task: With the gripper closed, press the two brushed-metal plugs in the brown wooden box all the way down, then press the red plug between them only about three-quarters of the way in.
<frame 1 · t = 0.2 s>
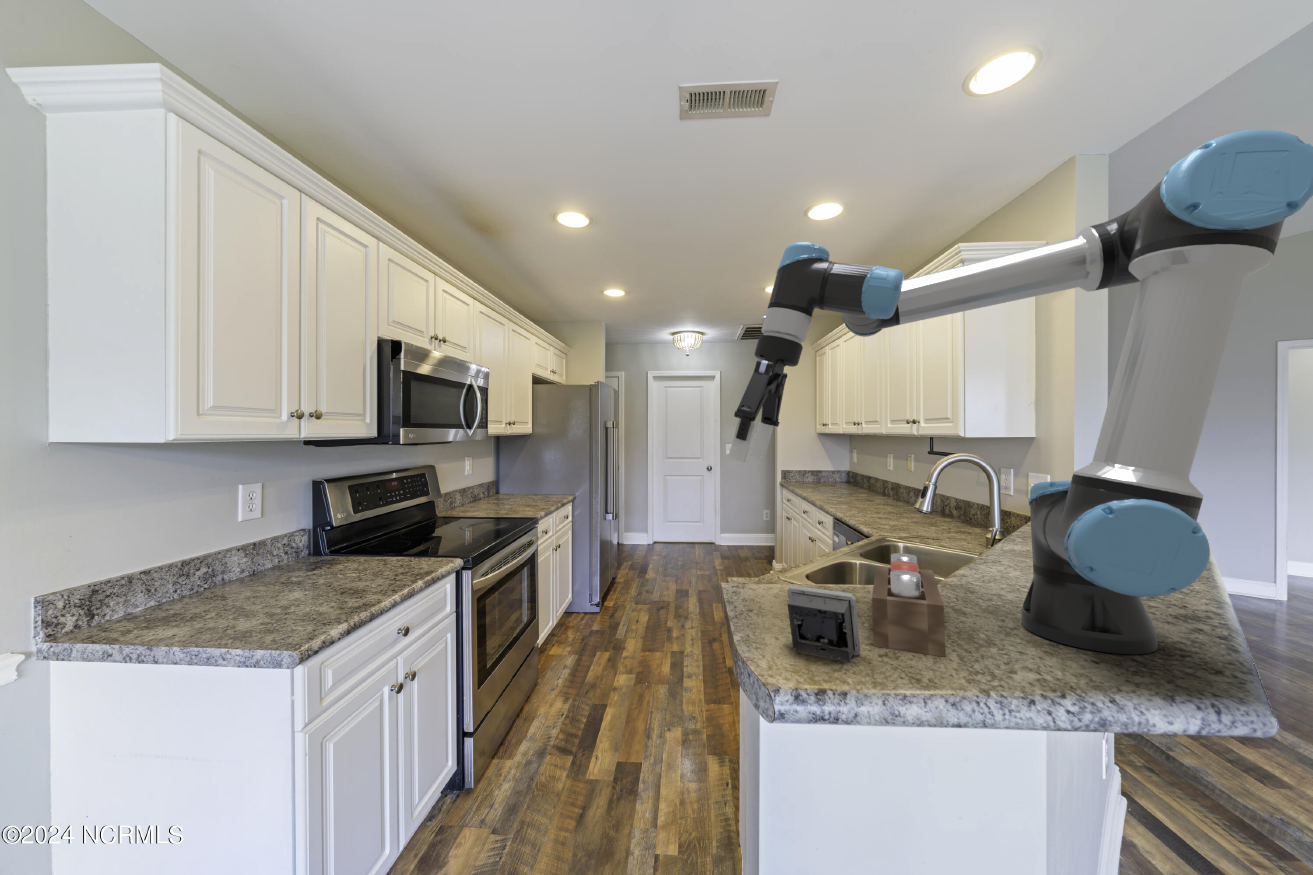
hand: (747, 458, 82), 27 cm above the counter, tool tilted 20°, fingers open, 13 cm apart
red plug: (905, 582, 76), point 7 cm above the counter, slide at 0.0 cm
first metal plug: (904, 572, 82), point 7 cm above the counter, slide at 0.0 cm
electrical switch: (824, 655, 66), on the counter
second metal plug: (905, 593, 70), point 7 cm above the counter, slide at 0.0 cm
brown wooden box: (906, 626, 76), on the counter
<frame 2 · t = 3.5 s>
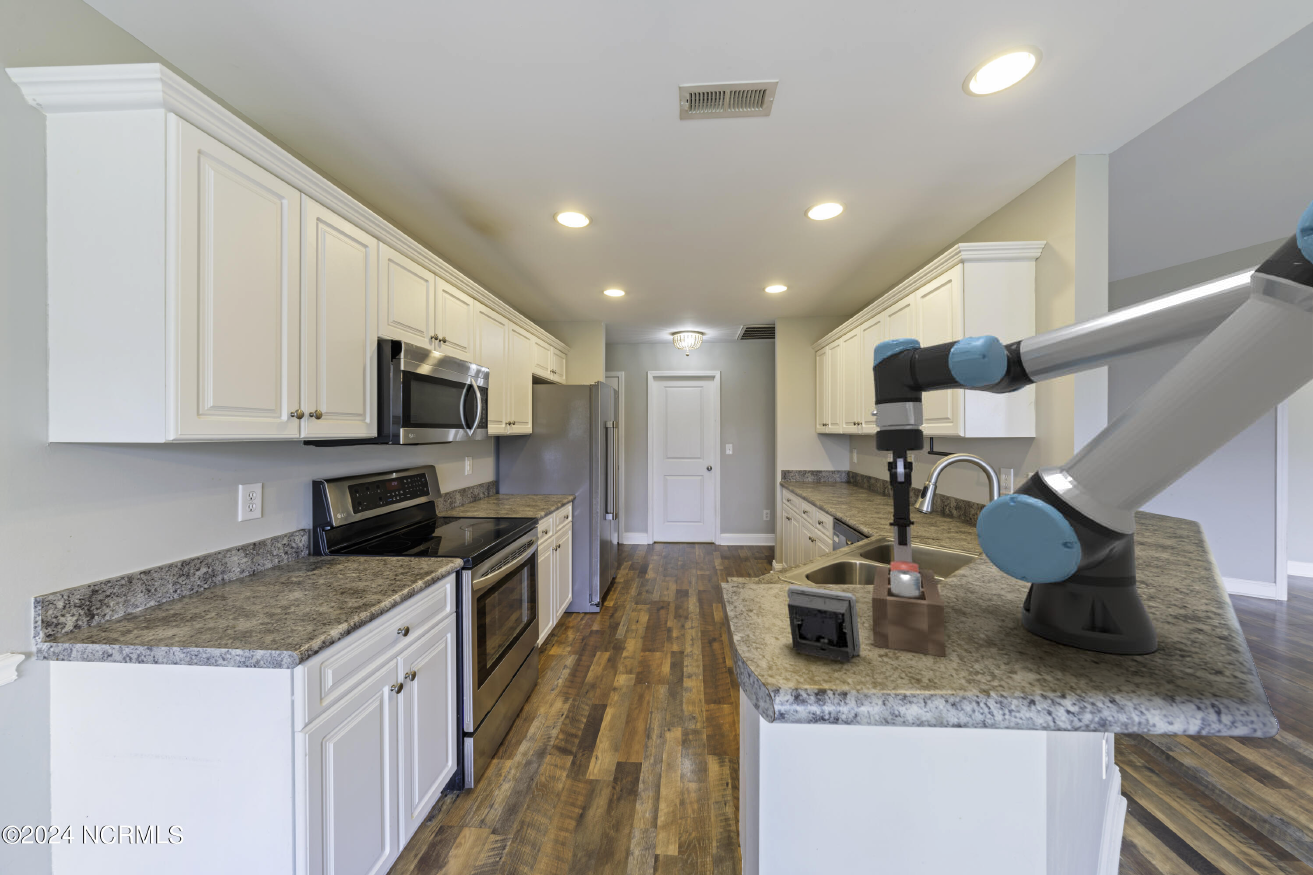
hand: (903, 562, 82), 9 cm above the counter, tool pointing down, fingers closed
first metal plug: (904, 582, 82), point 5 cm above the counter, slide at 1.6 cm, touching gripper
everything else where it was.
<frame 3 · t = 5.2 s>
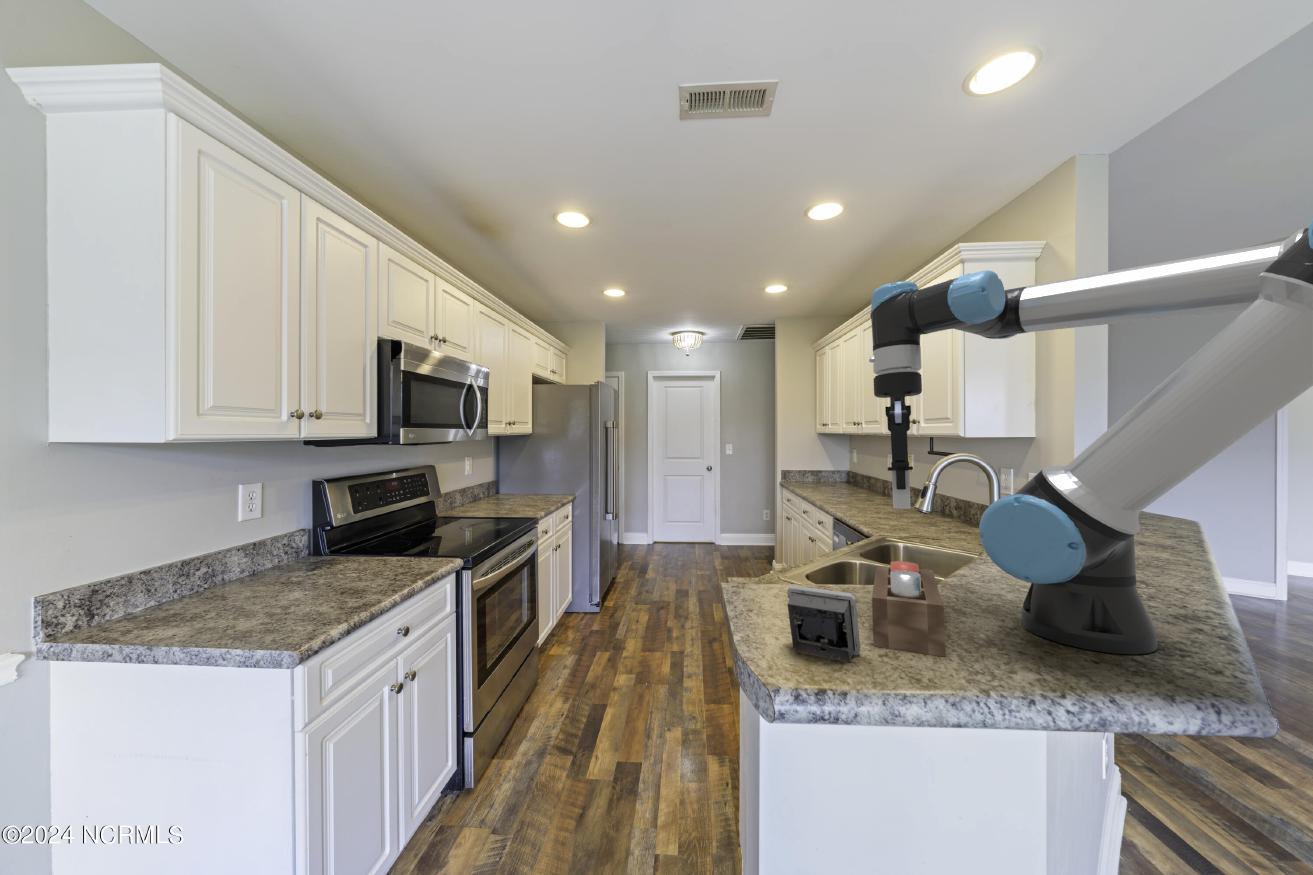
hand: (901, 507, 82), 18 cm above the counter, tool pointing down, fingers closed
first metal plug: (904, 589, 81), point 4 cm above the counter, slide at 2.9 cm
everything else where it was.
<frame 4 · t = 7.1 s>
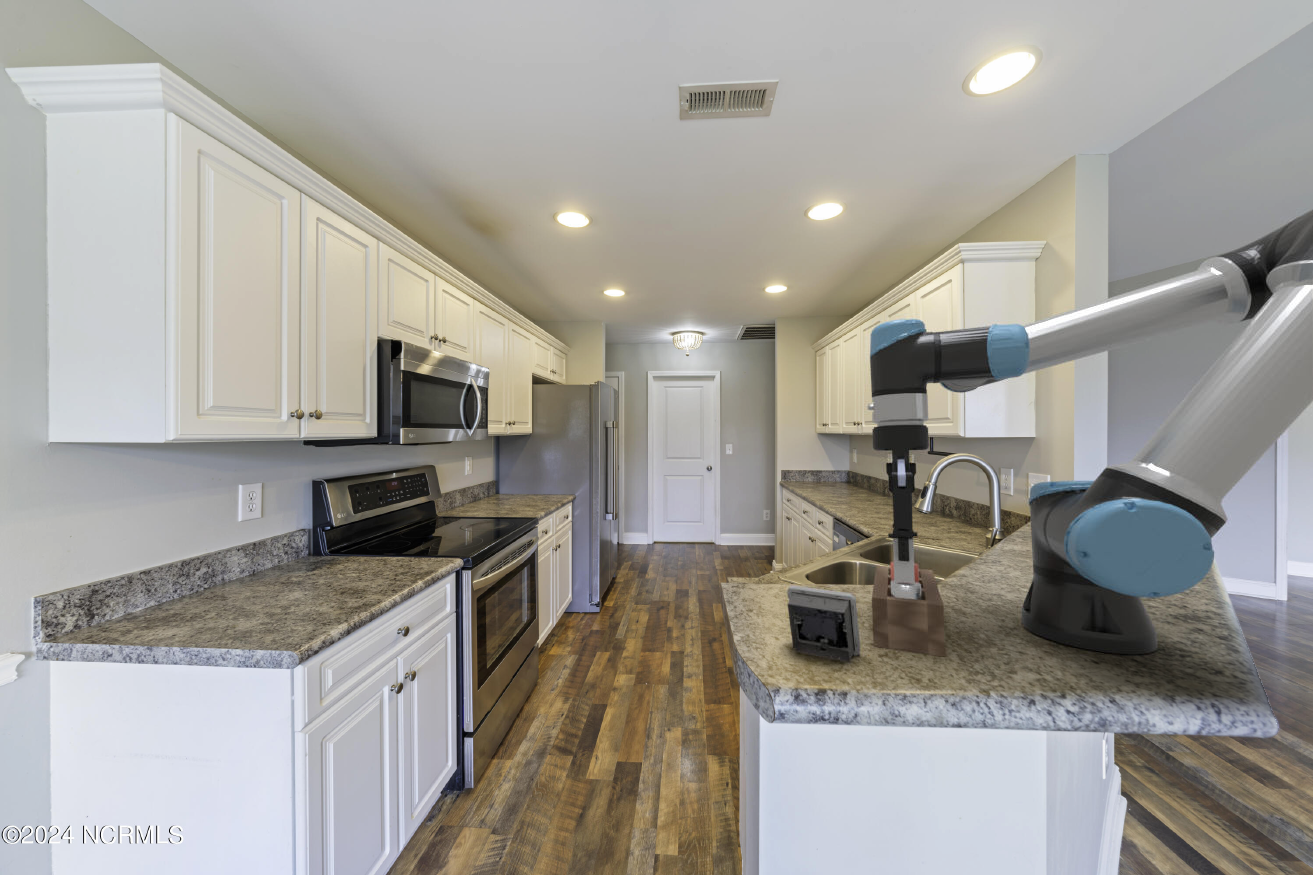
hand: (904, 581, 70), 9 cm above the counter, tool pointing down, fingers closed
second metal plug: (906, 603, 70), point 6 cm above the counter, slide at 1.4 cm, touching gripper
everything else where it was.
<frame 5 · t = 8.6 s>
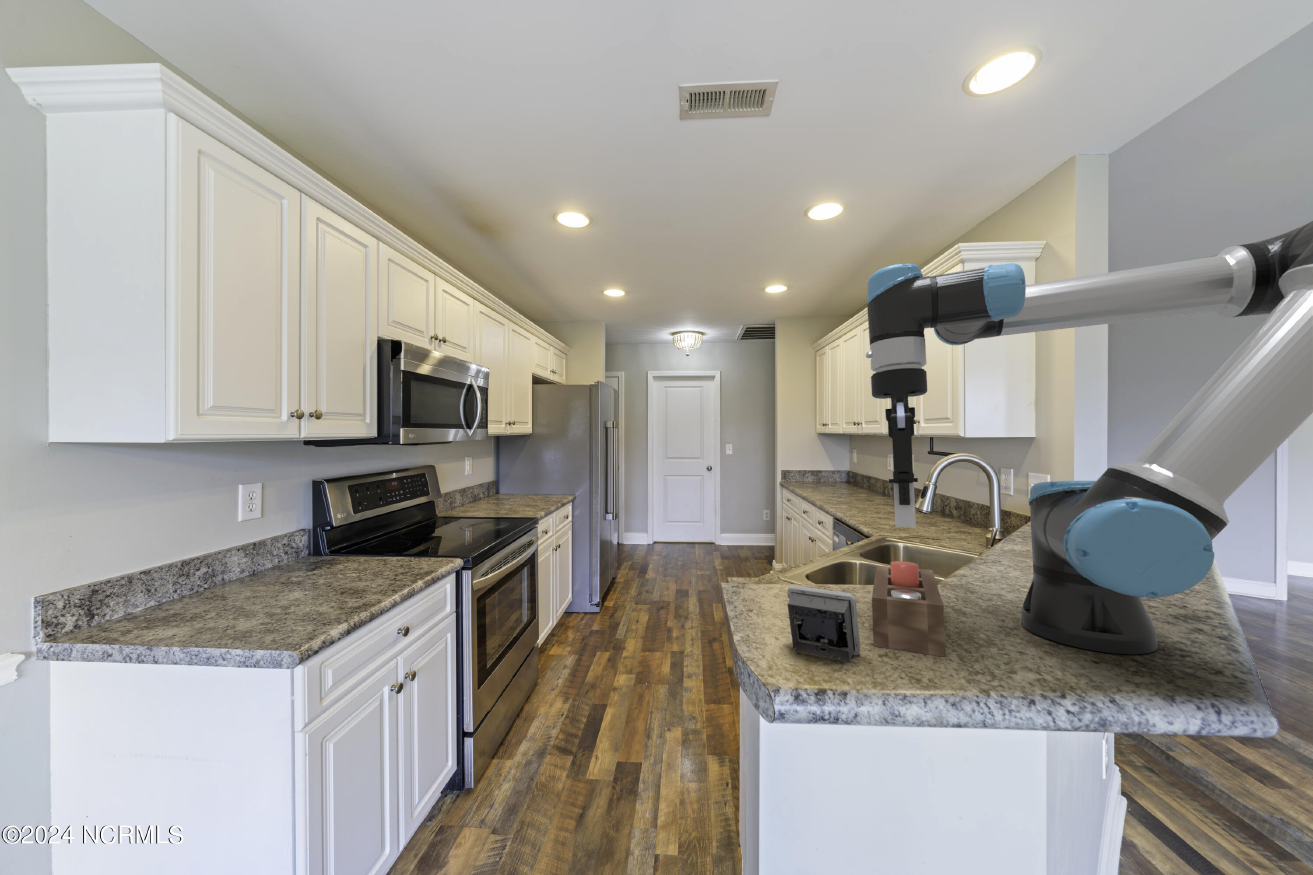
hand: (905, 526, 70), 17 cm above the counter, tool pointing down, fingers closed
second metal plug: (906, 613, 70), point 4 cm above the counter, slide at 2.9 cm
everything else where it was.
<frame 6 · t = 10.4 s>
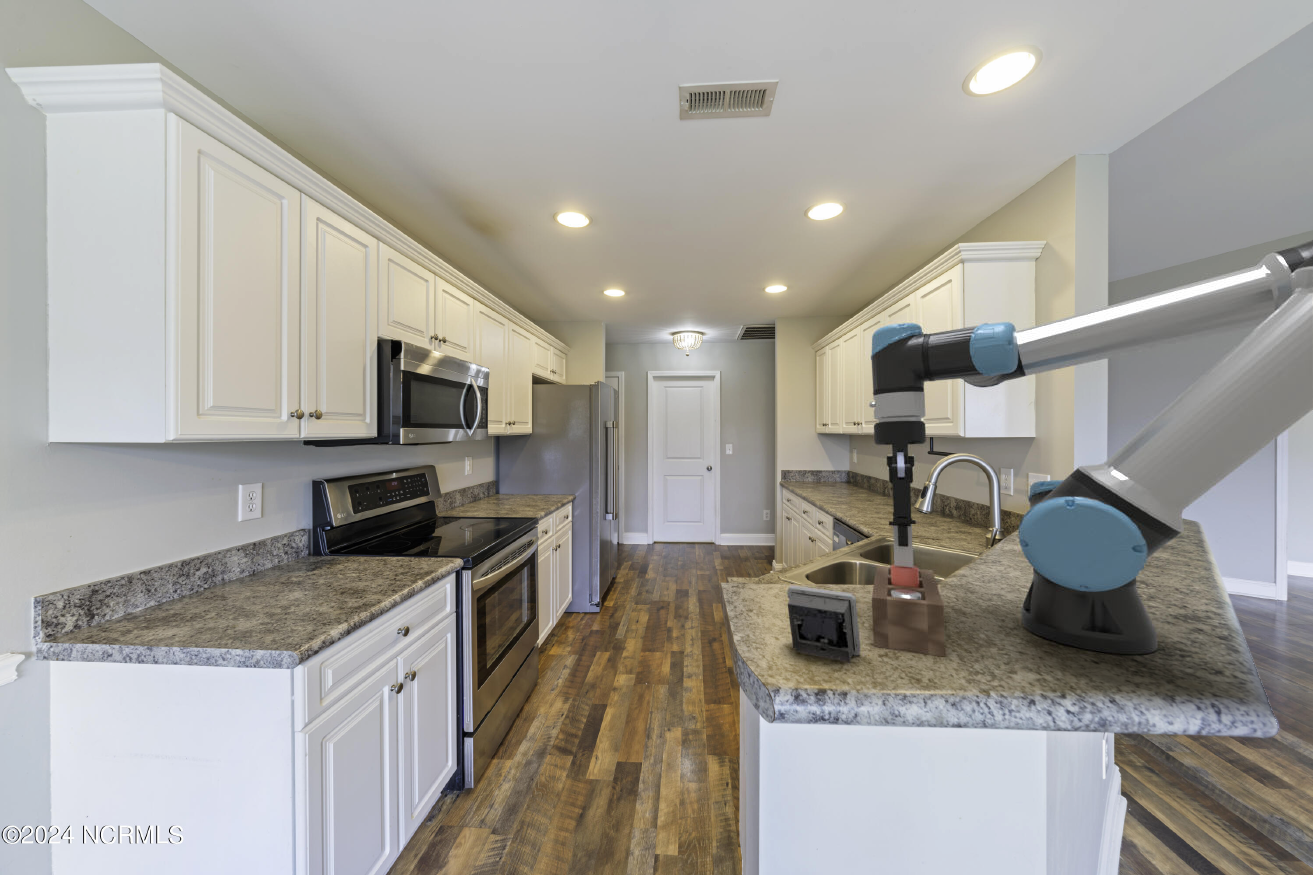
hand: (903, 565, 76), 10 cm above the counter, tool pointing down, fingers closed
red plug: (905, 585, 76), point 6 cm above the counter, slide at 0.5 cm, touching gripper
everything else where it was.
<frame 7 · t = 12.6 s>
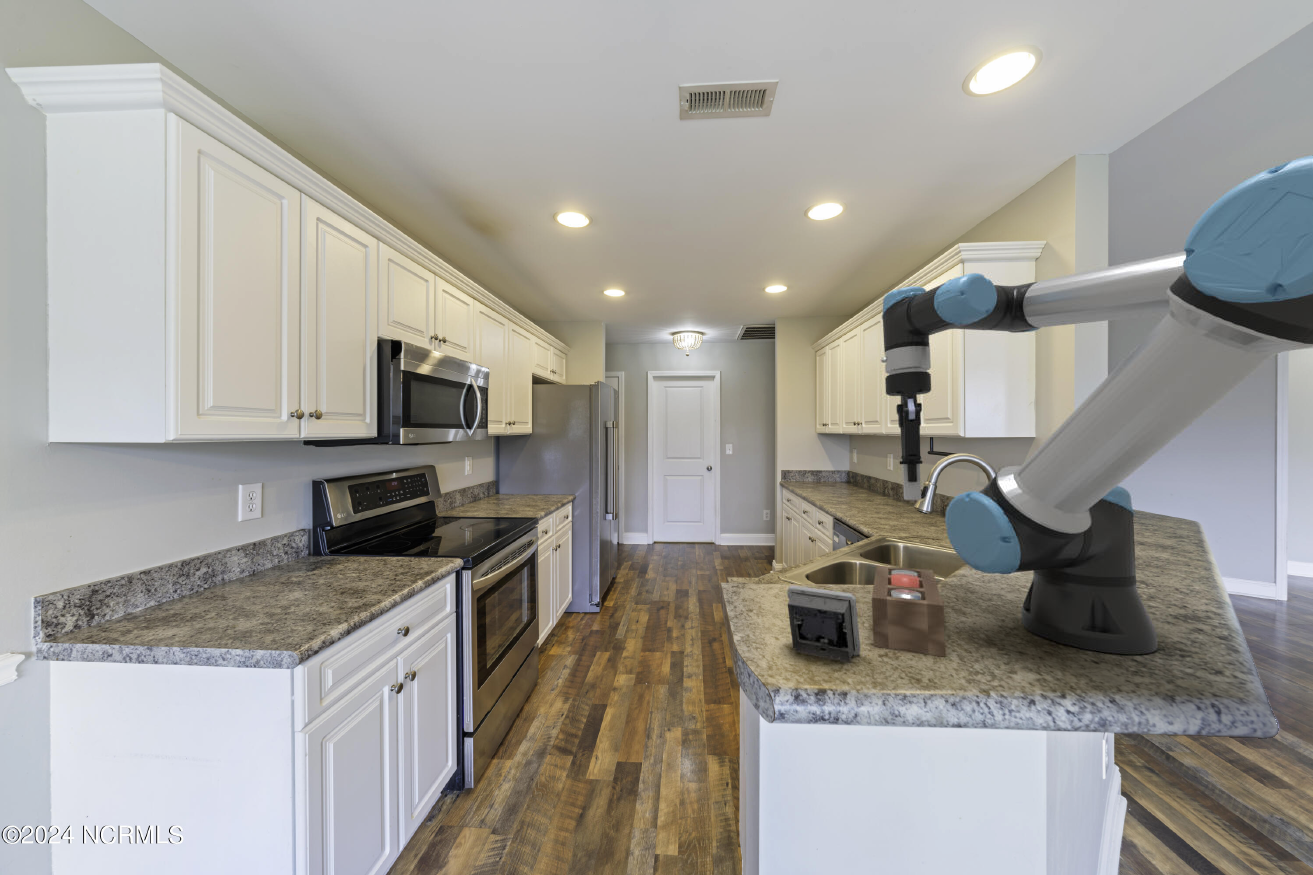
hand: (912, 499, 87), 19 cm above the counter, tool pointing down, fingers closed
red plug: (905, 595, 76), point 5 cm above the counter, slide at 2.1 cm
everything else where it was.
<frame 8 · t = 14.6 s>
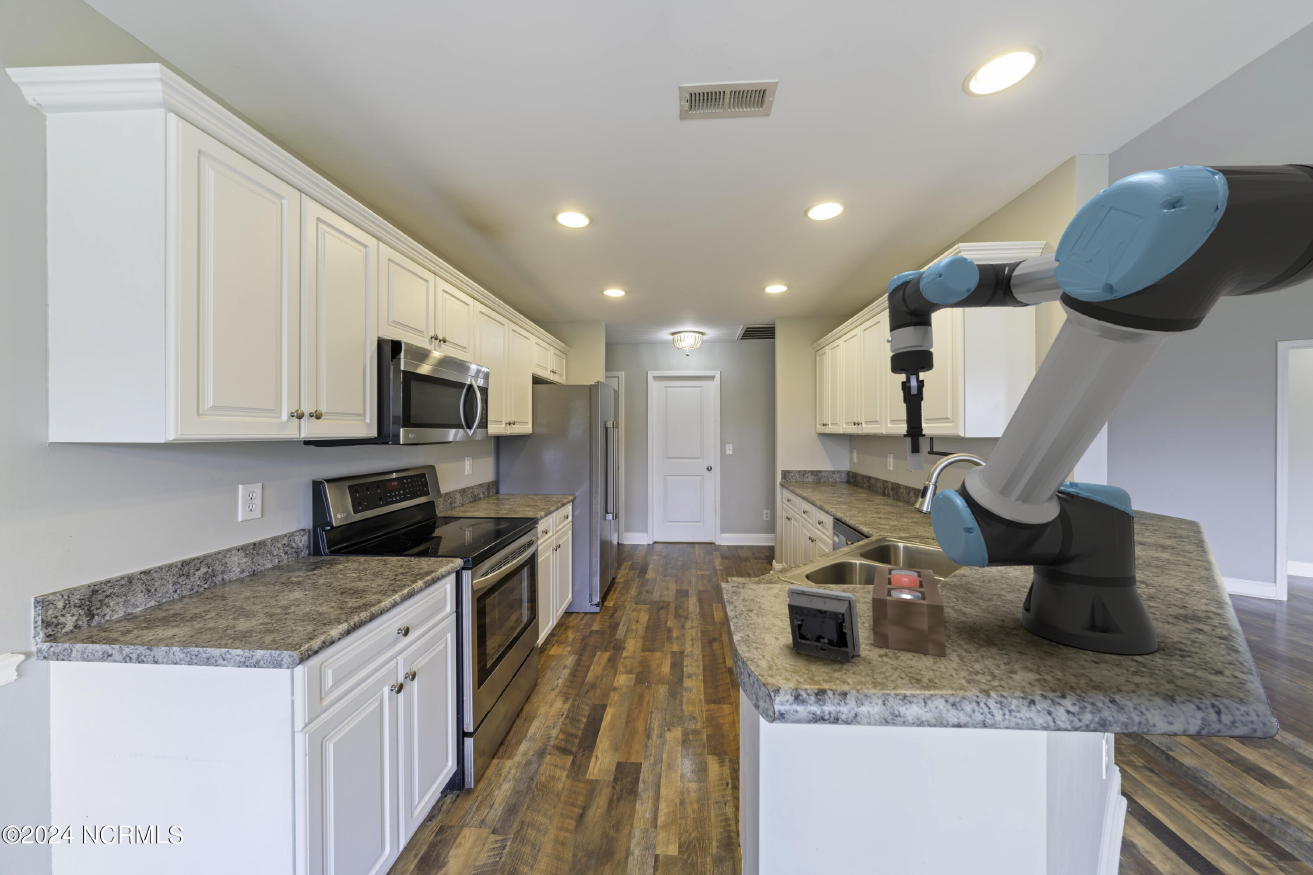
hand: (915, 470, 93), 24 cm above the counter, tool pointing down, fingers closed
nothing on the counter moved.
at the end: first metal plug slide at 2.9 cm; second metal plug slide at 2.9 cm; red plug slide at 2.1 cm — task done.
